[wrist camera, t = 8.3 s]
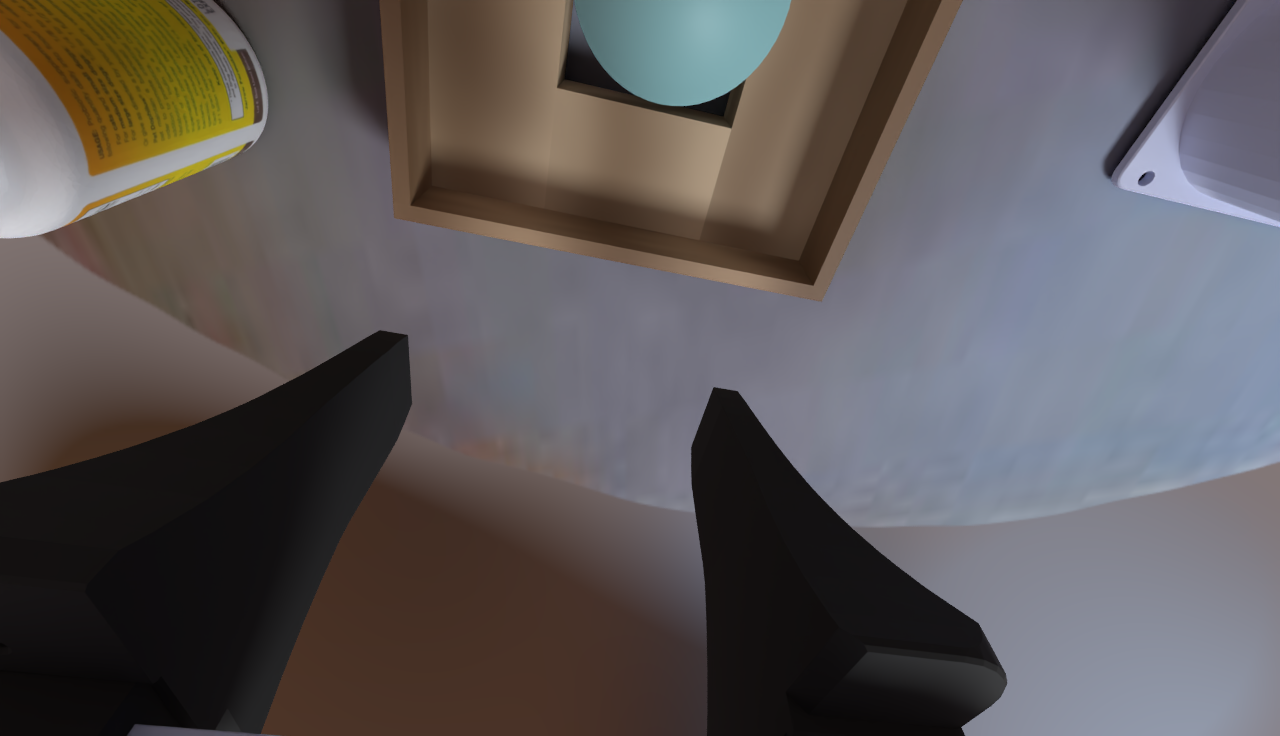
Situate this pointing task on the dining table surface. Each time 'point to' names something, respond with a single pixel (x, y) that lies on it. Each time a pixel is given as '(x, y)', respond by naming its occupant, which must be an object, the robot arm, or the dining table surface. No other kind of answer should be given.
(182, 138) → the supplement bottle
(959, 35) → the dining table surface
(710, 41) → the peg
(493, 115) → the box
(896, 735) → the robot arm
